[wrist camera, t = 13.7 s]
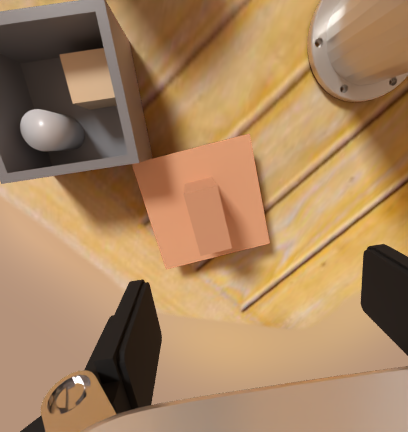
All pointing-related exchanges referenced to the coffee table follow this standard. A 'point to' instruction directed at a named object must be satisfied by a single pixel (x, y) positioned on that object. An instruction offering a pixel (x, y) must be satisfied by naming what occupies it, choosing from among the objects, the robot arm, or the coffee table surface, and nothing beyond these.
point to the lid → (204, 201)
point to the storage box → (67, 92)
